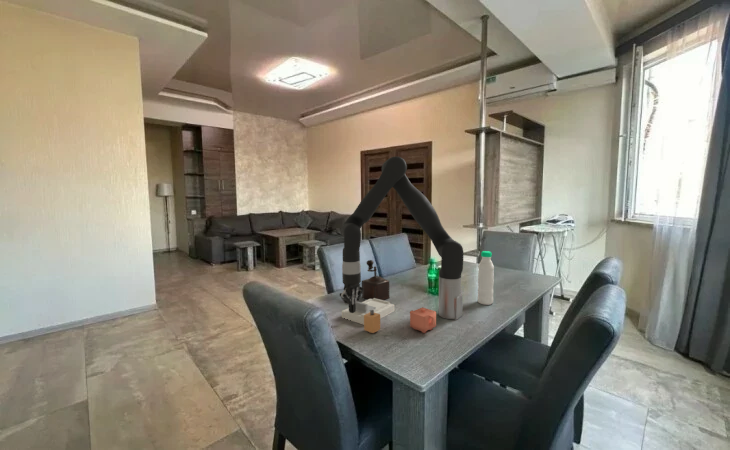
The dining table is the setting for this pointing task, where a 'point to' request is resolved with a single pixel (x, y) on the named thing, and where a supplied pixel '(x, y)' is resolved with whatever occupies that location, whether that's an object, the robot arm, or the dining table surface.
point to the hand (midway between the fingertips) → (352, 312)
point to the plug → (372, 322)
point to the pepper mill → (375, 285)
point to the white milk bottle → (485, 279)
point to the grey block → (363, 307)
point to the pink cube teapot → (423, 319)
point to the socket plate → (381, 308)
